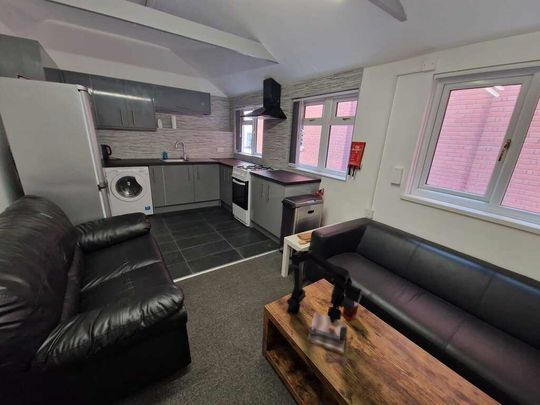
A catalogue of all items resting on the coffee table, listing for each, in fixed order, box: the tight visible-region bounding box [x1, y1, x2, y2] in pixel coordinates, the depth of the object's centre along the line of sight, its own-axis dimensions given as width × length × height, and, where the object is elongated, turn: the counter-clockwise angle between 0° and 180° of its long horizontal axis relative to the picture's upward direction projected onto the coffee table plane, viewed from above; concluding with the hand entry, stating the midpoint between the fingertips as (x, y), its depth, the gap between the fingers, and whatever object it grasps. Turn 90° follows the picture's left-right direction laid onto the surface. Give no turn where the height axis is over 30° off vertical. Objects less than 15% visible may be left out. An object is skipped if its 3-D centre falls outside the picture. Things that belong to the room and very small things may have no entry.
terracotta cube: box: [329, 325, 335, 332], centre depth 118 cm, size 3×2×2 cm, turn 68°
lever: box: [308, 326, 348, 344], centre depth 113 cm, size 18×4×8 cm, turn 72°
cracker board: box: [307, 312, 347, 355], centre depth 119 cm, size 18×19×5 cm
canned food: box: [342, 302, 360, 322], centre depth 130 cm, size 8×8×11 cm
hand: (333, 315), depth 116 cm, fingers open, 9 cm apart
